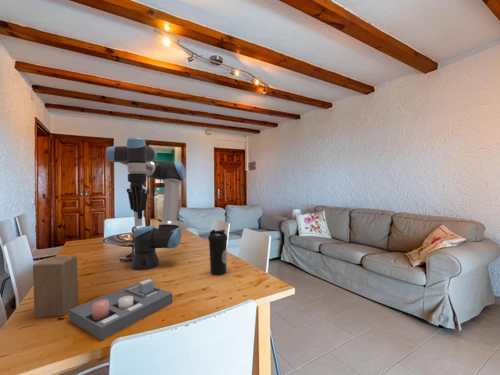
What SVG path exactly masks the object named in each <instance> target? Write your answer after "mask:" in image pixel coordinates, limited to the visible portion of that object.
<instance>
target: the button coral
mask: <svg viewBox="0 0 500 375" xmlns="http://www.w3.org/2000/svg"><path fill="white" fill-rule="evenodd" d="M92 317H93V321H101V320H103V319H105V318H107V317H109V300H106V299H104V300H99V301H96V302H94V303H93V304H92Z"/></svg>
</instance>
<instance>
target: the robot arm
mask: <svg viewBox="0 0 500 375" xmlns="http://www.w3.org/2000/svg"><path fill="white" fill-rule="evenodd" d="M157 157H158V152H157V151H156V149H155V148H153V147H152V146H149V145H147V143H146V139H145V138H141V137H128V138H127V140H126V145H125V146H124V145H119V146H118V145H117V146H116V145H115V146H108V147H107V148H106V149H105V158H106V160H107V161H108V162H110V163H120V164H123V165H125V166H126V167H127V172H128V174H127V182H129V183H130V184H129V188H126V193H127V194H128V202H129V208H130V210H131V211H132V212H133V218H134V227H137V228H136V229H134V231H133V245H134V246H133V250H134V251H133V253H134V254H133V258H132V261H131V263H130V264H131V266H130V267H131V269H132V270H135V271H144V270H150V269H154V268H156V267H157V266H159V265H160V260H159V257H158V254H157V252H156V250H157V249H168V250H169V249H175V248H177V247H178V246H180V243H181V241H182V229H181V228H180V225H179V224H178V221H177V219H178V218H177V217H178V206H179V192H180V185H181V184H182V183H183V180H185V179H186V170H185V166H184V164H183V163H182V162H181V161H178V160H177V161H176V160H174V161H173V160H172V161H155V160H156V159H157ZM147 178H150V179H154V180H158V181H161V180H162V183H163V184H164V190H163V201H162V202H163V204H162V213H161V222H160V223H159V224H158V228H157V227H156V225H146V226H143V212H144V211H145V210H147V201H148V193H149V191H150V189H149V188H147V187H146V184H145V183H146V182H147Z"/></svg>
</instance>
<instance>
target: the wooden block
mask: <svg viewBox="0 0 500 375" xmlns="http://www.w3.org/2000/svg"><path fill="white" fill-rule="evenodd" d="M32 276H33V277H32V278H33V303H34V305H33V306H34V318H35V317H43V318H57V317H58V318H59V317H64V316H65V315H66V314H67V313H69V309H72V308H74V307H77V306H78V305H79V281H78V280H79V279H78V278H79V276H78V256H77V255H69V256H68V255H67V256H66V255H65V256H51V257H47V258H46V259H43V260H41V261H39V262H37V263H34V264H33V265H32Z"/></svg>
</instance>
